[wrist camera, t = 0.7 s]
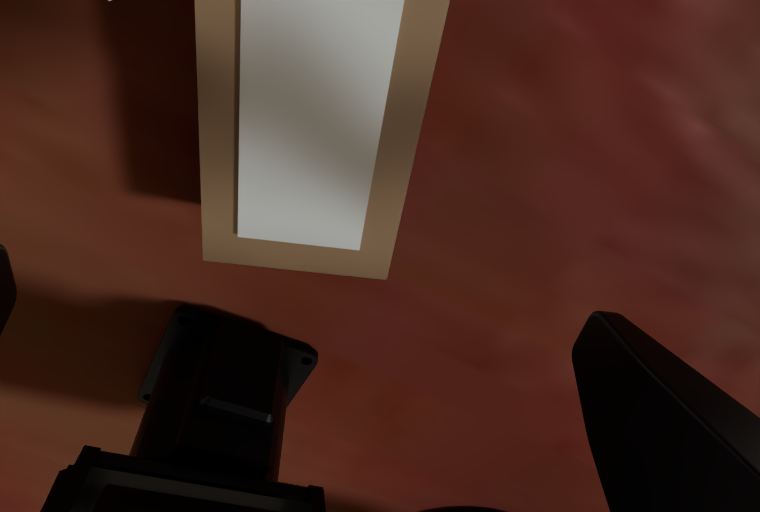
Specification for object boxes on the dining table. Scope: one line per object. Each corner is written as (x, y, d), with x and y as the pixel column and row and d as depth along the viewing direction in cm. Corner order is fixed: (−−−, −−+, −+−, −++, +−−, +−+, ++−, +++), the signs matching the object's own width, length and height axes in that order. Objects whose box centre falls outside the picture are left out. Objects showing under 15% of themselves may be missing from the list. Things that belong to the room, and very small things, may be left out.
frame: (382, 221, 21) (386, 282, 18) (223, 203, 20) (202, 263, 18) (442, -75, 15) (463, -54, 12) (222, -117, 14) (189, -106, 12)
